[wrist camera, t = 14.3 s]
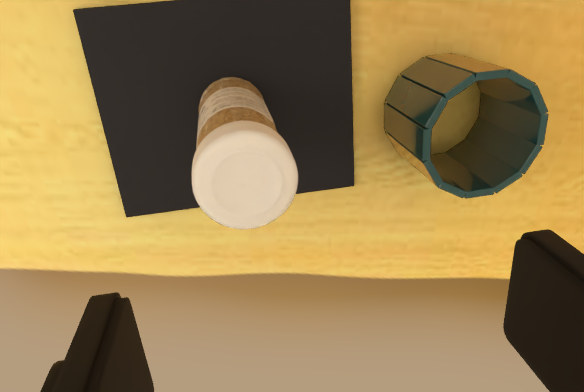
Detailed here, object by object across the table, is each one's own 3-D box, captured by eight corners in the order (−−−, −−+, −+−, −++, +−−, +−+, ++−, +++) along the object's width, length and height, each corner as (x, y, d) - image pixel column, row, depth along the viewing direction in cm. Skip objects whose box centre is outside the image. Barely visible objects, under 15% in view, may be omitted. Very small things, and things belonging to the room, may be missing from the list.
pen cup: (491, 48, 33) (557, 63, 27) (481, 153, 37) (537, 188, 30) (384, 60, 32) (426, 78, 26) (383, 166, 36) (420, 205, 30)
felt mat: (347, -15, 30) (350, -15, 30) (352, 183, 36) (354, 186, 35) (75, 8, 28) (72, 9, 28) (127, 214, 34) (126, 217, 34)
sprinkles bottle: (250, 150, 33) (274, 245, 21) (188, 127, 32) (175, 214, 19) (275, 90, 32) (317, 155, 19) (212, 63, 30) (214, 115, 18)
